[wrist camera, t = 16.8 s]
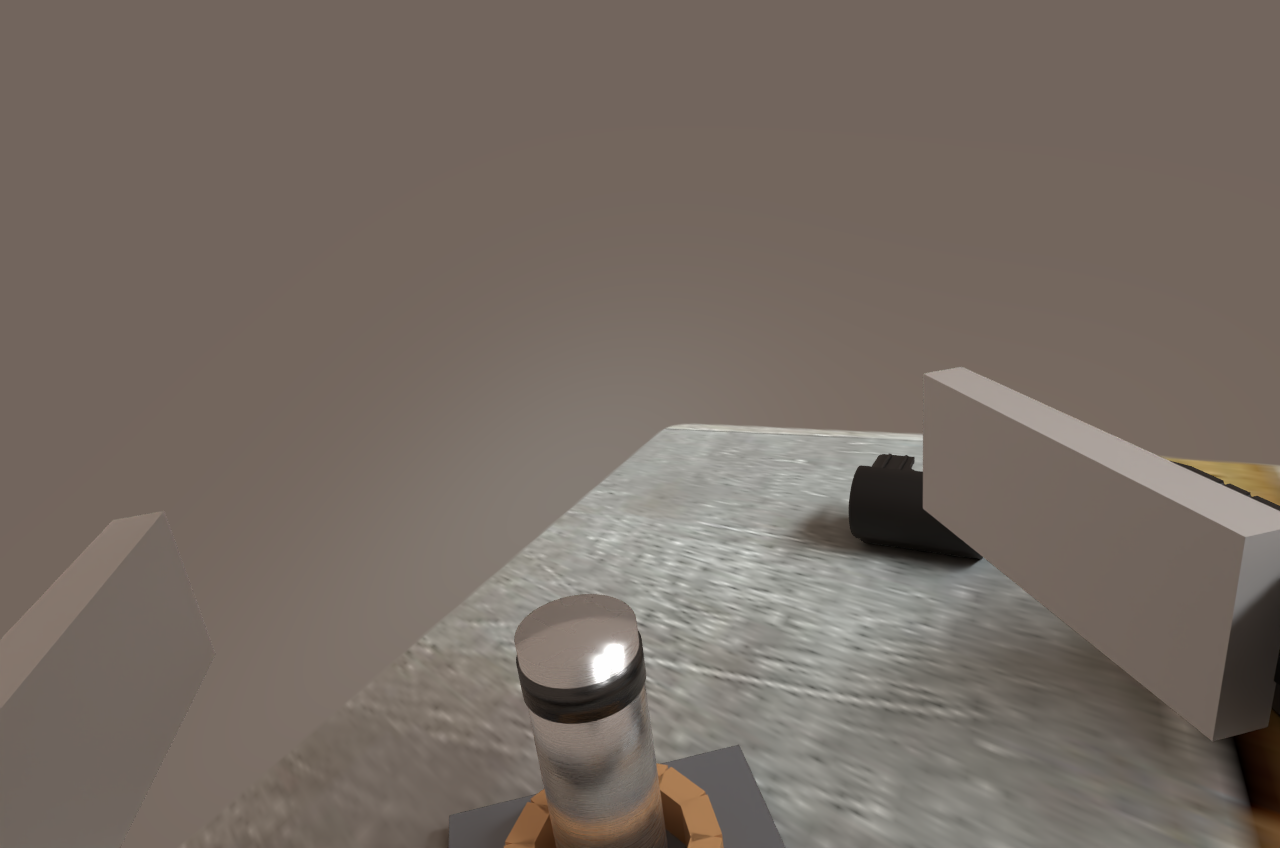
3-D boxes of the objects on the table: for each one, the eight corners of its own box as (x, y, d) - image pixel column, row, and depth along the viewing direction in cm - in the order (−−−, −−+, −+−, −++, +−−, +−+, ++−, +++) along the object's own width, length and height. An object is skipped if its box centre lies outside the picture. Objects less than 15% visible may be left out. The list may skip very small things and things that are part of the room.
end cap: (849, 558, 65) (846, 481, 62) (871, 517, 70) (870, 445, 68) (984, 579, 60) (987, 496, 57) (997, 534, 65) (1000, 457, 63)
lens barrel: (660, 823, 41) (625, 583, 36) (686, 915, 36) (650, 651, 31) (558, 850, 40) (508, 607, 35) (570, 946, 35) (515, 681, 30)
